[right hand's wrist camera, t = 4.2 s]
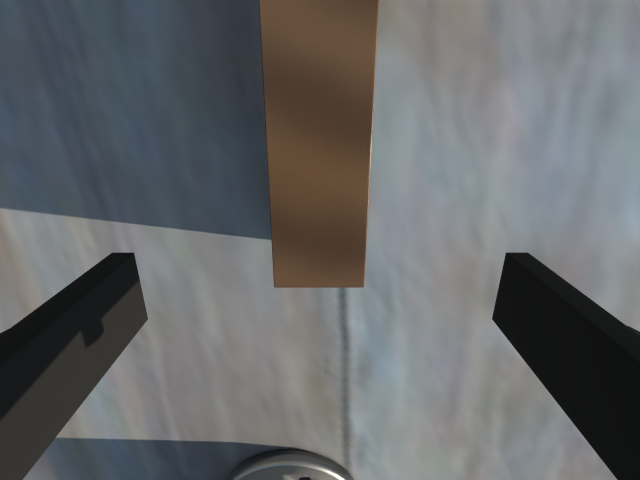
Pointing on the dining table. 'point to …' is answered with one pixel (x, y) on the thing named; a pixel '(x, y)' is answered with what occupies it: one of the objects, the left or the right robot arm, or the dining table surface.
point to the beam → (319, 136)
